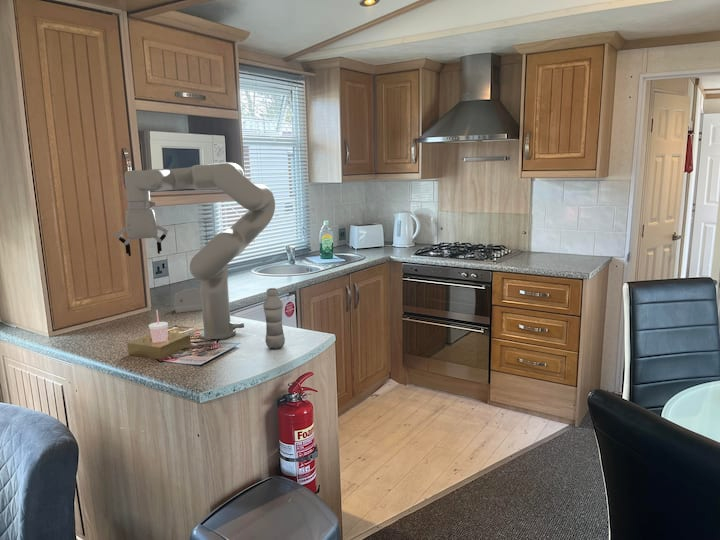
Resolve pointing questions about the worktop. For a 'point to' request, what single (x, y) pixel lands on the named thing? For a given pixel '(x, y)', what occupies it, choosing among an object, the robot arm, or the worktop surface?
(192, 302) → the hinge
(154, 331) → the beverage cup
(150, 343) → the block
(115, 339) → the worktop surface
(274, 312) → the plastic bottle
